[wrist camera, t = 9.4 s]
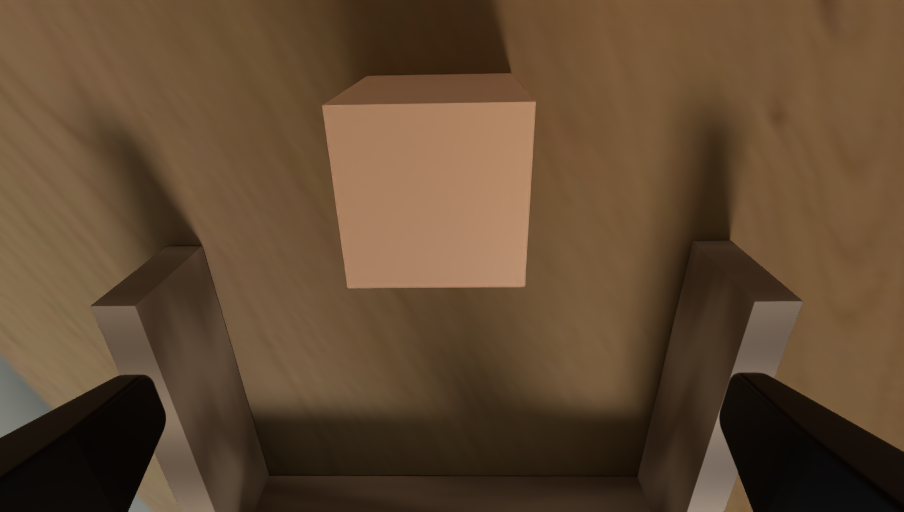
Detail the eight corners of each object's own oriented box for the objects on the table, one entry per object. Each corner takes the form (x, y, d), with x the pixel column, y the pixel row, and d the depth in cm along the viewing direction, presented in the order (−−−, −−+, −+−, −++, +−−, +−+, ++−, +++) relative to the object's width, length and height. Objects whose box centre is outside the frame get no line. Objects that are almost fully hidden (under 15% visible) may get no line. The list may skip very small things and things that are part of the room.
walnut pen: (660, 495, 26) (696, 582, 22) (247, 493, 27) (210, 578, 23) (730, 240, 19) (803, 301, 15) (166, 246, 19) (90, 306, 15)
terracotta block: (506, 208, 19) (525, 287, 13) (380, 209, 19) (347, 288, 13) (511, 73, 16) (535, 101, 11) (367, 75, 16) (321, 105, 11)
